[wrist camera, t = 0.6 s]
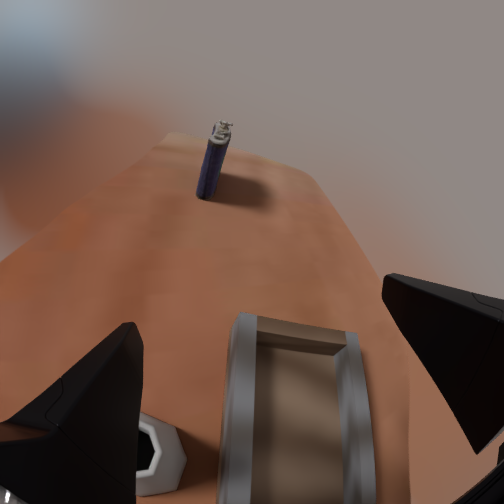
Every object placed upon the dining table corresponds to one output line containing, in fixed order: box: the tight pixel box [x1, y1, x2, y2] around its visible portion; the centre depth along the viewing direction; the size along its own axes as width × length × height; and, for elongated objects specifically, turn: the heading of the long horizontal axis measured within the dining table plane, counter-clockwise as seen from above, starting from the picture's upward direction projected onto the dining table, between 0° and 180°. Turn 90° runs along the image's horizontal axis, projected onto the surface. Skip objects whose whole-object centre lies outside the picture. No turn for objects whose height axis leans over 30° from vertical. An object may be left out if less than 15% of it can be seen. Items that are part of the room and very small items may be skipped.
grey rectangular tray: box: [216, 312, 376, 504], centre depth 17 cm, size 22×12×4 cm, turn 178°
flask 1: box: [136, 412, 187, 497], centre depth 12 cm, size 7×7×10 cm
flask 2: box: [195, 120, 233, 200], centre depth 38 cm, size 9×3×11 cm, turn 0°
